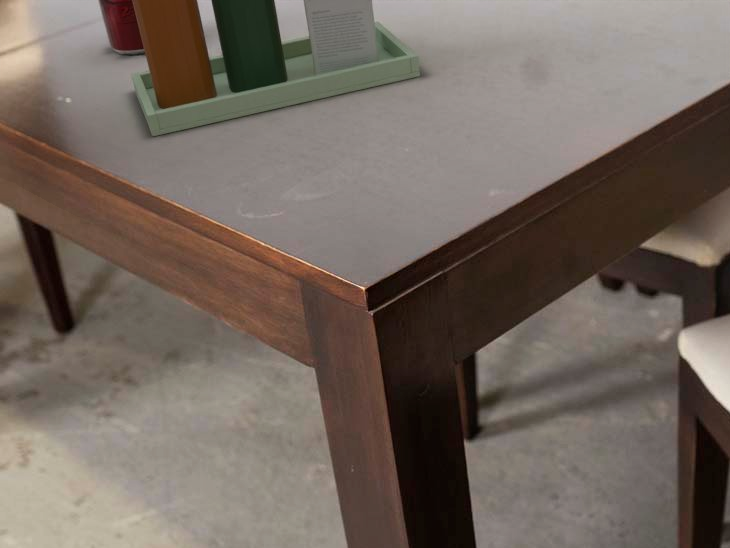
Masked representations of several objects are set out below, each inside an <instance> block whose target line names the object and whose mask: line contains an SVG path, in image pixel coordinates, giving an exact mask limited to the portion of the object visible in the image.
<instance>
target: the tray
mask: <svg viewBox="0 0 730 548" xmlns="http://www.w3.org/2000/svg"><path fill="white" fill-rule="evenodd" d="M374 22H375V30H376V38H377V46H378V54H379V62H374V63H370V64H365V65H361V66H356V67H352V68H347V69H343V70H338V71H334V72H329V73H325V74H320V75H316V76H315V71H314V64H313V57H312V51H311V45H310V38H309V35H308V36H304V37H299V38H294V39H289V40H286V41H285V40H284V41H281V42H282V48H283V54H284V60H285V65H286V71H287V77H288V80H287V82H284V83H279V84H275V85H270V86H266V87H261V88H257V89H252V90H248V91H243V92H239V93H234V92H232V91H231V90H230V88H229V84H228V80H227V75H226V70H225V65H224V60H223V55H222V54H220V55H215V56H209V59H210V64H211V69H212V74H213V78H214V83H215V88H216V93H217V95H216V97H215V98H212V99H207V100H203V101H198V102H194V103H189V104H185V105H180V106H176V107H171V108H167V109H162V108H159V106H158V104H157V100H156V96H155V92H154V87H153V83H152V79H151V75H150V71H149V70H145V71H141V72H136V73H131V74H130V76H131V80H132V85H133V87H134V91H135V95H136V97H137V98H136V99H137V100H138V103H139V105H140V109H141V111H142V113H143V115H144V118H145V121H146V124H147V127H148V128H149V131H150V134H151V136H152V137H157V136H161V135H166V134H170V133H175V132H180V131H183V130H188V129H192V128H193V129H194V128H197V127H202V126H205V125H210V124H214V123H218V122H224V121H228V120H232V119H236V118H241V117H245V116H250V115H254V114H260V113H263V112H268V111H272V110H277V109H281V108H285V107H290V106H295V105H298V104H303V103H307V102H308V103H309V102H312V101H317V100H321V99H325V98H330V97H334V96H339V95H343V94H347V93H352V92H357V91H360V90H364V89H365V90H366V89H369V88H370V89H371V88H374V87H378V86H382V85H387V84H391V83H396V82H400V81H404V80H409V79H413V78H418V77H421V72H420V62H419V61H420V60H419V55H418V54H417V53H416V52H415V51H413V50H412V49H411V48H409V47H408V45H406V44H405V43H404V42H403V41H402V40H401V39H399V37H397V36H396V35H395V34H394V33H392V32H391V31H390V30H389V29H388V28H386V27H385V25H383V24H382V23H381V22H380V21H374Z"/></svg>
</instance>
